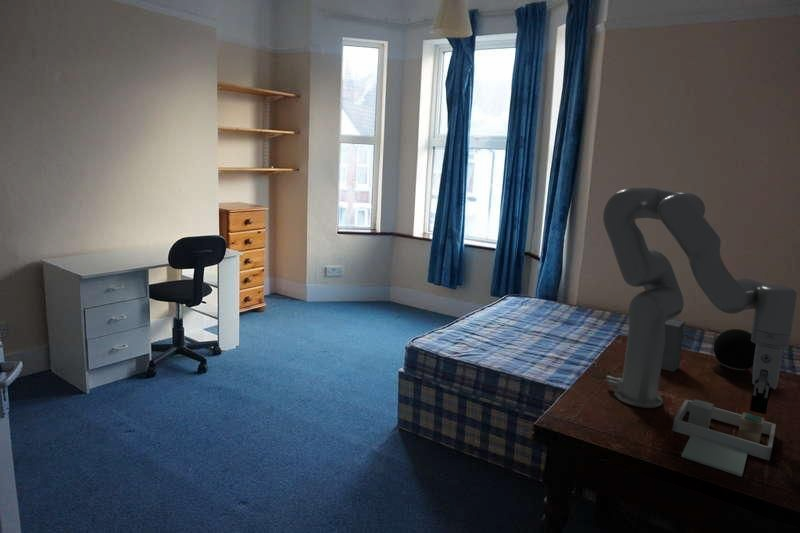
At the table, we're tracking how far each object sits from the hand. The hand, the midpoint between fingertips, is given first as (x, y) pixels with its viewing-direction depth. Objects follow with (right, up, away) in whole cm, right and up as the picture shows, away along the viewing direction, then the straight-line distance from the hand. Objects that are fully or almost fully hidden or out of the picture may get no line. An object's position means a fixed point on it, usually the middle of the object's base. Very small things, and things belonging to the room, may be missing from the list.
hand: (759, 405), depth 132 cm
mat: (-14, -10, -5) cm, 18 cm away
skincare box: (0, 0, +49) cm, 49 cm away
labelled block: (-1, -9, +3) cm, 10 cm away
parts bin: (-5, -8, +6) cm, 12 cm away
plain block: (-10, -8, +9) cm, 15 cm away
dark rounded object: (+21, -2, +45) cm, 50 cm away
